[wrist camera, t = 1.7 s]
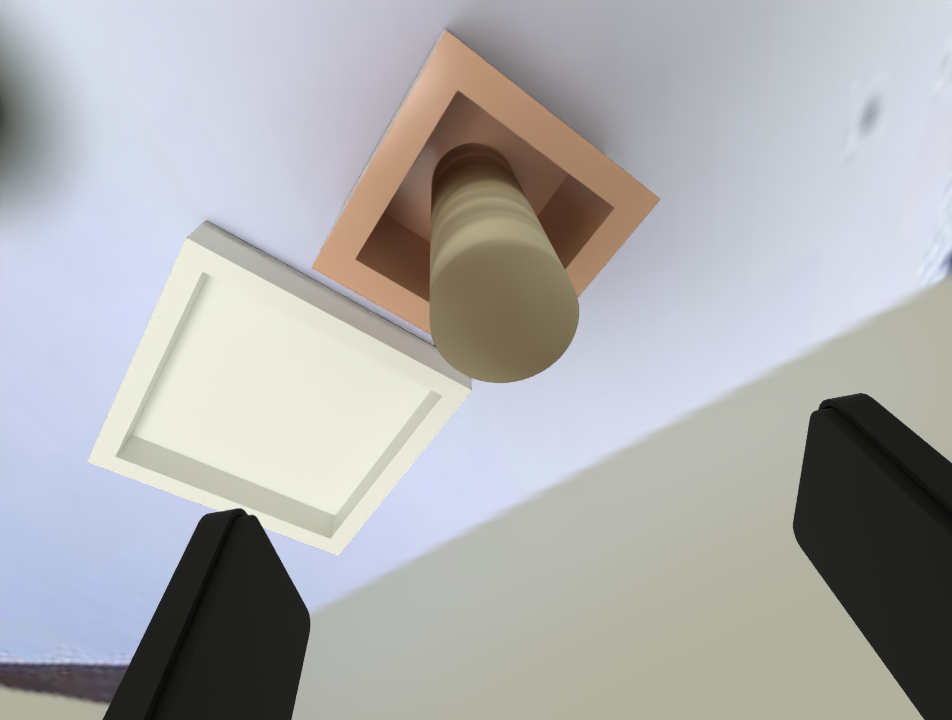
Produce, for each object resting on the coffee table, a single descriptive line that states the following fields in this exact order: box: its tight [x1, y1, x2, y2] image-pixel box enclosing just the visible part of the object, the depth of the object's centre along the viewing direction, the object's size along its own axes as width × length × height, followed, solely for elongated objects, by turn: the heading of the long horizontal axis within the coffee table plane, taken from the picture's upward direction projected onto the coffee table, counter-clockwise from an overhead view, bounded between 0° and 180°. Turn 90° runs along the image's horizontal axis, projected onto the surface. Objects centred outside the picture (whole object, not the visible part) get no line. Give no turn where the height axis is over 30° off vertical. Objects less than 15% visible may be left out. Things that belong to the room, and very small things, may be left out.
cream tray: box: [87, 221, 472, 555], centre depth 32 cm, size 16×16×3 cm
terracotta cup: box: [312, 29, 660, 334], centre depth 24 cm, size 9×9×8 cm
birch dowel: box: [429, 143, 579, 383], centre depth 21 cm, size 4×4×14 cm
